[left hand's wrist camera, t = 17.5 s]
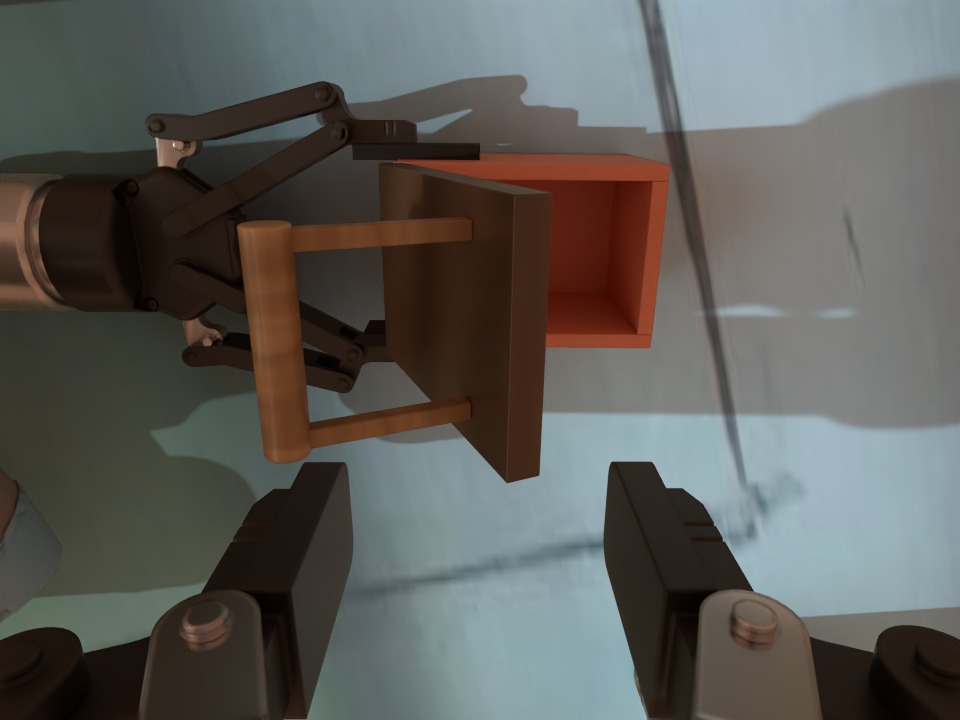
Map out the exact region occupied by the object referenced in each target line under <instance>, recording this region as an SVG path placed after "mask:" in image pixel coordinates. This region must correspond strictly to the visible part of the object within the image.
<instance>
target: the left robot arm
mask: <svg viewBox="0 0 960 720" xmlns="http://www.w3.org/2000/svg"><path fill="white" fill-rule="evenodd" d="M352 555H353V526H352V514H351V501H350V489H349V476H348V469H347V465H346V463H345V462H305V463H304V464H303V465H302V467H301V469H300V471H299V473H298V475H297V477H296V478H295V480H294V482H293V484H292V486H291V488H290V489H273V490H272V491H271V492H269V493H268V494H267V495H265V496H264V497H263V498H262V499H260V500H259V501H258V502H256V503H255V504H254V505H253V506H252V508H251V509H250V511H249V513H248V515H247V516H246V518H245V520H244V521H243V523H242V527H240V528H239V530H238V531H237V533H236V535H235V536H234V538H233V542H231V543H230V545H229V547H228V548H227V550H226V552H225V553H224V555H223V557H222V558H221V560H220V562H219V563H218V565H217V567H216V569H215V570H214V572H213V574H212V575H211V577H210V579H209V580H208V582H207V584H206V585H205V587H204V589H203V590H202V592H201V593H200V594H197V595H194V596H192V597H189V598H187V599H185V600H183V601H181V602H180V603H178V604H176V605H175V606H173V607H172V608H171V609H169V610H168V611H167V612H166V613H165V614H164V615H163V616H162V617H161V618H160V619H159V620H158V622H157V623H156V624H155V626H154V628H153V630H152V633H151V636H149V637H146V638H143V639H141V640H137V641H134V642H130V643H126V644H122V645H117V646H113V647H109V648H105V649H100V650H96V651H92V652H87V653H83V649H82V646H81V642H80V640H79V638H78V636H77V635H76V634H75V633H73V632H71V631H70V630H67V629H64V628H57V627H45V628H37V629H32V630H28V631H24V632H21V633H18V634H14V635H12V636H10V637H7V638H5V639H2V640H0V720H283V719H307V716H308V712H309V709H310V706H311V702H312V699H313V695H314V692H315V688H316V685H317V681H318V678H319V675H320V671H321V668H322V664H323V661H324V657H325V654H326V650H327V647H328V644H329V640H330V637H331V633H332V630H333V626H334V623H335V620H336V616H337V613H338V609H339V606H340V602H341V599H342V595H343V592H344V589H345V585H346V582H347V578H348V575H349V571H350V568H351V562H352ZM604 556H605V563H606V568H607V572H608V575H609V579H610V582H611V586H612V589H613V593H614V596H615V600H616V603H617V607H618V610H619V614H620V617H621V621H622V624H623V628H624V631H625V635H626V638H627V642H628V646H629V649H630V653H631V656H632V660H633V663H634V667H635V669H634V678H635V683H636V686H637V690H638V693H639V696H640V698H641V702H642V705H643V707H644V710H645V713H646V717H647V720H960V640H959V639H957V638H955V637H953V636H951V635H948V634H946V633H943V632H940V631H937V630H934V629H930V628H926V627H921V626H913V625H901V626H894V627H891V628H888V629H886V630H884V631H883V632H882V633H881V634H880V635H879V637H878V639H877V642H876V646H875V650H874V653H873V652H868V651H864V650H860V649H855V648H851V647H847V646H842V645H838V644H834V643H829V642H825V641H822V640H818V639H815V638H812V637H809V633H808V630H807V628H806V626H805V624H804V623H803V622H802V620H801V619H800V618H799V617H798V616H797V615H796V614H795V613H794V612H793V611H792V610H791V609H789V608H788V607H787V606H785V605H784V604H782V603H780V602H779V601H777V600H775V599H773V598H771V597H768V596H766V595H763V594H760V593H756V592H754V591H753V589H752V587H751V586H750V584H749V582H748V580H747V579H746V577H745V575H744V574H743V572H742V570H741V568H740V567H739V565H738V563H737V562H736V560H735V558H734V556H733V555H732V553H731V551H730V550H729V548H728V546H727V544H726V543H725V542H723V538H722V536H721V534H720V532H719V531H718V529H717V527H716V526H714V522H713V520H712V519H711V517H710V515H709V514H708V512H707V510H706V508H705V507H704V505H703V504H702V503H701V502H700V501H698V500H697V499H696V498H694V497H693V496H692V495H690V494H689V493H688V492H686V491H685V490H684V489H683V488H666V487H665V485H664V483H663V481H662V479H661V477H660V475H659V473H658V471H657V469H656V467H655V465H654V464H653V463H652V462H611V464H610V467H609V473H608V485H607V498H606V511H605V524H604Z"/></svg>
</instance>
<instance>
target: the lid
mask: <svg viewBox="0 0 960 720" xmlns="http://www.w3.org/2000/svg"><path fill="white" fill-rule="evenodd" d="M379 185H380V209H381V221H375V222H356V223H337V224H319V225H300V226H292V225H291V223H289V222H286V221H278V220H261V221H250V222H244V223H241V224H239V225H238V226H237V232H238V240H239V248H240V257H241V265H242V273H243V282H244V290H245V298H246V307H247V315H248V323H249V332H250V340H251V348H252V357H253V365H254V373H255V382H256V390H257V398H258V407H259V415H260V423H261V432H262V440H263V448H264V456H265V458H266V459H267V460H268V461H270V462H273V463H280V464H285V463H293V462H297V461H300V460H302V459H304V458H306V457H307V456H309V454H310V453H311V451H312V448H318V447H323V446H328V445H334V444H339V443H345V442H350V441H355V440H361V439H366V438H372V437H377V436H382V435H388V434H393V433H399V432H404V431H409V430H415V429H420V428H425V427H431V426H436V425H442V424H447V423H452V424H453V425H454V426H455V427H456V428H457V429H458V431H459V432H460V433H461V434H462V435H463V436H464V437H465V438H466V439H467V440H468V441H469V443H470V444H471V445H472V446H473V447H474V448H475V449H476V450H477V451H478V452H479V453H480V454H481V456H482V457H483V458H484V459H485V460H486V461H487V462H488V463H489V464H490V465H491V466H492V468H493V469H494V470H495V471H496V472H497V473H498V474H499V475H500V476H501V477H502V478H503V479H504V481H505V482H506V483H510V482H514V481H518V480H523V479H527V478H531V477H536V476H539V472H540V451H541V430H542V409H543V389H544V368H545V347H546V326H547V305H548V284H549V263H550V243H551V222H552V201H553V194H552V193H549V192H544V191H539V190H535V189H530V188H525V187H520V186H515V185H510V184H505V183H500V182H495V181H490V180H486V179H481V178H476V177H471V176H466V175H461V174H456V173H451V172H446V171H441V170H436V169H432V168H427V167H422V166H417V165H412V164H407V163H379ZM381 246H382V255H383V278H384V302H385V325H386V348H387V353H388V354H389V356H390V357H391V358H392V359H393V360H394V361H395V362H396V363H397V364H398V365H399V366H400V368H401V369H402V370H403V371H404V372H405V373H406V374H407V375H408V376H409V377H410V378H411V379H412V381H413V382H414V383H415V384H416V385H417V386H418V387H419V388H420V389H421V390H422V391H423V393H424V394H425V395H426V396H427V397H428V398H429V399H430V400H431V401H432V402H428V403H422V404H416V405H411V406H405V407H399V408H393V409H387V410H381V411H375V412H369V413H364V414H358V415H352V416H346V417H340V418H334V419H328V420H322V421H316V422H311V423H310V420H309V409H308V398H307V387H306V376H305V365H304V354H303V343H302V332H301V321H300V310H299V299H298V288H297V277H296V266H295V255H294V252H308V251H323V250H337V249H352V248H366V247H381Z"/></svg>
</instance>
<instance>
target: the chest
mask: <svg viewBox="0 0 960 720" xmlns="http://www.w3.org/2000/svg"><path fill="white" fill-rule="evenodd" d="M394 163H407V164H412V165H417V166H422V167H427V168H432V169H436V170H441V171H446V172H451V173H456V174H461V175H466V176H471V177H476V178H481V179H486V180H490V181H495V182H500V183H505V184H510V185H515V186H520V187H525V188H530V189H535V190H539V191H544V192H549V193H552V194H553V201H552V222H551V243H550V263H549V284H548V305H547V326H546V347H578V348H650V346H651V337H652V335H651V334H652V330H653V321H654V311H655V302H656V293H657V284H658V274H659V265H660V256H661V247H662V237H663V228H664V219H665V210H666V200H667V191H668V180H669V172H670V165H669V164H664V163H660V162H656V161H652V160H648V159H643V158H639V157H635V156H631V155H628V154H567V153H480V160H407V159H399V160H397V161H395V162H394Z"/></svg>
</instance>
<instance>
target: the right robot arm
mask: <svg viewBox="0 0 960 720" xmlns="http://www.w3.org/2000/svg"><path fill="white" fill-rule="evenodd" d="M319 112H320V113H321V115H322V118H323V120H324V123H325V126H324V127H322V128H320V129H319V130H317V131H315V132H313V133H312V134H310V135H308V136H307V137H305V138H303V139H301V140H300V141H298V142H296V143H295V144H293V145H291V146H289V147H288V148H286V149H284V150H283V151H281V152H279V153H277V154H276V155H274V156H272V157H271V158H269V159H267V160H265V161H264V162H262V163H260V164H259V165H257V166H255V167H253V168H252V169H250V170H248V171H247V172H245V173H243V174H242V175H240V176H238V177H236V178H235V179H233V180H231V181H229V182H227V183H225V184H223V185H221V186H219V187H217V188H216V189H215V188H213V187H212V186H210V185H209V184H207V183H206V182H204V181H203V180H202V179H200V178H199V177H197V176H196V175H194V174H193V173H191V172H190V171H188V170H187V169H185V168H184V162H185V160H186V159H187V158H188V157H190V156H194V155H197V154H199V153H200V152H201V151H202V148H203V141H207V140H218V139H223V138H227V137H231V136H234V135H238V134H242V133H245V132H249V131H253V130H256V129H260V128H264V127H267V126H271V125H275V124H278V123H282V122H286V121H289V120H293V119H297V118H300V117H304V116H308V115H312V114H315V113H319ZM145 126H146V130H147V131H148V133H149V134H150V135H151V136H152V137H154V138H156V147H157V162H158V167H156V168H154V169H152V170H151V171H149V172H148V173H145V174H70V175H67V176H65V177H63V176H60V175H58V174H22V173H0V311H49V312H70V311H74V310H77V309H79V310H81V311H85V312H162V313H165V314H168V315H171V316H173V317H174V318H176V319H179V320H182V323H183V327H184V331H185V335H186V339H187V343H188V348H186V349H185V350H184V351H183V353H182V359H183V361H184V362H185V363H186V364H187V365H189V366H191V367H202V366H214V365H227V366H231V367H235V368H240V369H244V370H248V371H252V372H254V365H253V357H252V348H251V340H250V335H248V334H243V333H227V329H226V327H224V326H222V325H219V324H214V323H211V322H210V321H208V320H207V318H206V317H205V314H204V313H206V312H207V311H208V310H210V309H211V308H212V307H213V306H215V305H216V304H217V303H219V304H221V305H223V306H225V307H227V308H229V309H231V310H233V311H235V312H237V313H241V314H247V307H246V298H245V290H244V282H243V273H242V265H241V257H240V248H239V240H238V232H237V226H238V225H239V224H241V223H244V222H247V220H246V215H242V212H241V211H240V209H239V208H240V207H242V206H244V205H245V204H247V203H249V202H251V201H252V200H254V199H256V198H257V197H259V196H260V195H262V194H264V193H265V192H267V191H269V190H271V189H272V188H274V187H276V186H277V185H279V184H281V183H283V182H284V181H286V180H288V179H290V178H291V177H293V176H295V175H297V174H298V173H300V172H302V171H304V170H305V169H307V168H309V167H311V166H312V165H314V164H316V163H317V162H319V161H321V160H323V159H324V158H326V157H328V156H330V155H331V154H333V153H335V152H337V151H338V150H340V149H342V148H344V147H345V146H347V145H352V149H353V160H399V159H407V160H480V144H479V143H417V124H414V123H412V122H410V121H407V120H360V119H357V118H356V117H354V116H353V115H352V114H351V112H350V111H349V109H348V106H347V103H346V101H345V98H344V92H343V90H342V88H340V87H339V86H338V85H336V84H333V83H329V82H325V81H322V82H316V83H313V84H309V85H306V86H302V87H298V88H295V89H291V90H287V91H284V92H280V93H277V94H273V95H269V96H266V97H262V98H258V99H255V100H251V101H248V102H244V103H240V104H237V105H233V106H229V107H226V108H222V109H219V110H215V111H211V112H208V113H204V114H201V115H197V116H191V115H182V114H151V115H150V116H148V117H147V119H146V123H145ZM299 310H300V321H301V332H302V341H304V342H306V343H308V344H310V345H312V346H314V347H316V348H318V349H320V350H322V351H324V352H326V353H328V354H326V353H322V352H318V351H314V350H310V349H305V348H303V354H304V365H305V376H306V385H310V386H315V387H319V388H323V389H327V390H331V391H335V392H340V393H347V392H350V391H351V390H352V388H353V386H354V384H355V382H356V380H357V377H358V375H359V373H360V369H361V366H362V365H363V364H365V363H367V362H395V361H394V360H393V359H392V358H391V357H390V356H389V354H388V353H387V348H386V325H385V320H370V321H369V323H368V325H367V327H366V329H365V331H364V333H363V332H361V331H359V330H357V329H355V328H353V327H351V326H349V325H347V324H345V323H343V322H341V321H339V320H337V319H335V318H333V317H331V316H329V315H327V314H325V313H323V312H321V311H319V310H317V309H315V308H313V307H311V306H309V305H307V304H305V303H303V302H301V301H299ZM61 555H62V547H61V544H60V541H59V539H58V537H57V536H56V535H55V533H54V532H53V531H52V529H51V528H50V526H49V525H48V524H47V522H46V521H45V520H44V518H43V517H42V515H41V514H40V513H39V511H38V510H37V509H36V507H35V506H34V504H33V503H32V502H31V500H30V499H29V497H28V496H27V495H26V492H25V490H24V488H23V486H22V485H21V484H19V483H18V482H17V481H16V480H12V479H11V478H10V477H9V476H8V475H7V474H6V473H5V472H4V470H3V469H2V468H1V467H0V623H1V622H2V621H3V620H4V619H6V618H7V617H9V616H10V615H11V614H13V613H15V612H17V611H18V610H19V609H21V608H22V607H23V606H24V605H25V604H26V603H27V602H28V601H29V600H30V599H32V598H33V597H34V596H35V595H36V594H37V593H38V592H39V591H40V590H41V589H42V588H43V587H44V586H45V584H46V583H47V582H48V581H49V579H50V578H51V577H52V575H53V574H54V572H55V571H56V569H57V567H58V565H59V563H60V560H61Z"/></svg>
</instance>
